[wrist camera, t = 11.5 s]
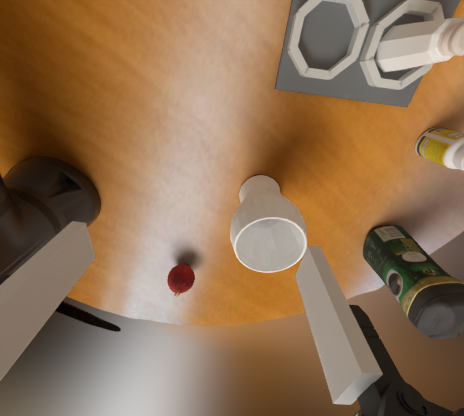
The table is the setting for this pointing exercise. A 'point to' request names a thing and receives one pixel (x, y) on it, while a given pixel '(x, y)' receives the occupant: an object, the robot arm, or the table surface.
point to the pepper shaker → (420, 44)
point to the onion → (181, 279)
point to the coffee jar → (416, 282)
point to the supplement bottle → (442, 147)
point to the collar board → (351, 48)
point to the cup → (267, 227)
